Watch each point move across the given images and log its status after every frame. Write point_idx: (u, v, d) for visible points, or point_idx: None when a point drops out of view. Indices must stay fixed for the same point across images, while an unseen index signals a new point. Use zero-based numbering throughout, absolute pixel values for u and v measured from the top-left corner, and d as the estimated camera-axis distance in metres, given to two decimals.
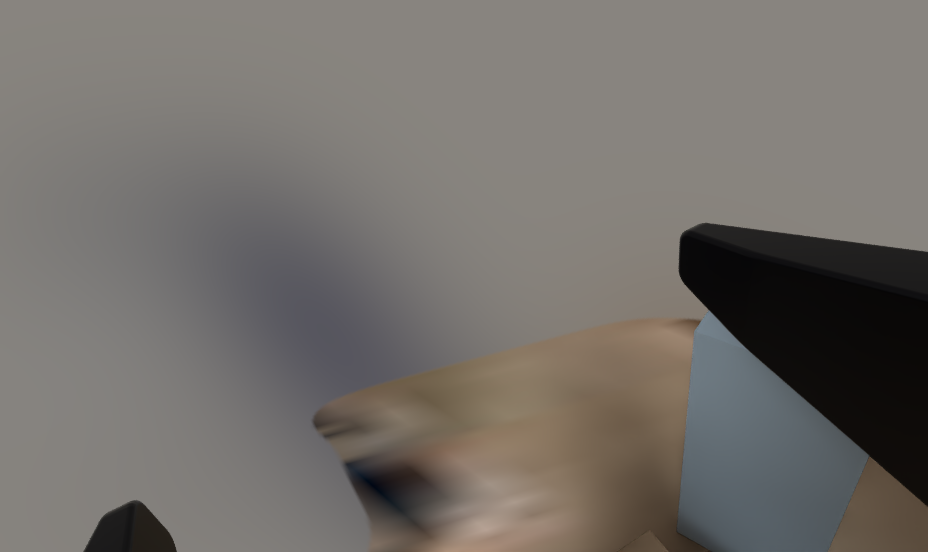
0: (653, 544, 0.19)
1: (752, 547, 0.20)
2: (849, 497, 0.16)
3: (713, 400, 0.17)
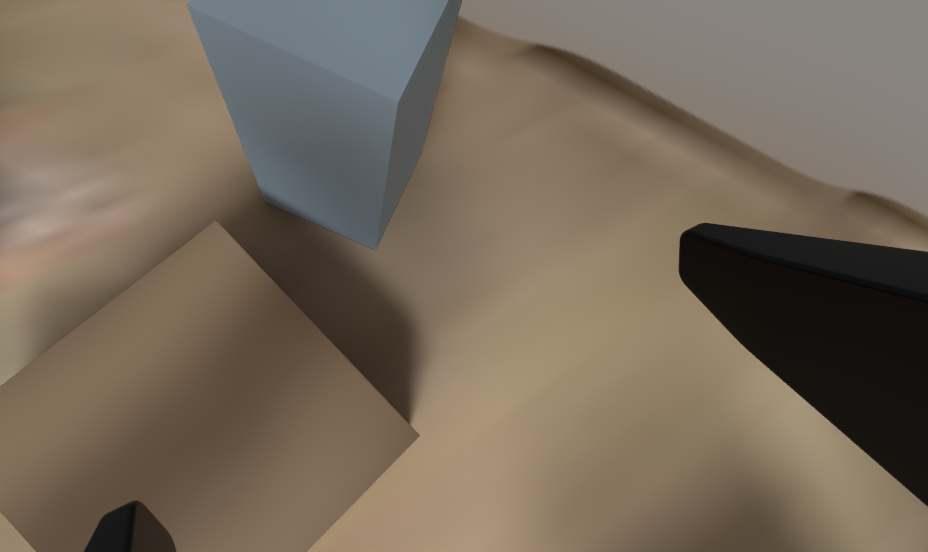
0: (219, 235, 0.18)
1: (327, 214, 0.21)
2: (385, 179, 0.16)
3: (243, 88, 0.14)
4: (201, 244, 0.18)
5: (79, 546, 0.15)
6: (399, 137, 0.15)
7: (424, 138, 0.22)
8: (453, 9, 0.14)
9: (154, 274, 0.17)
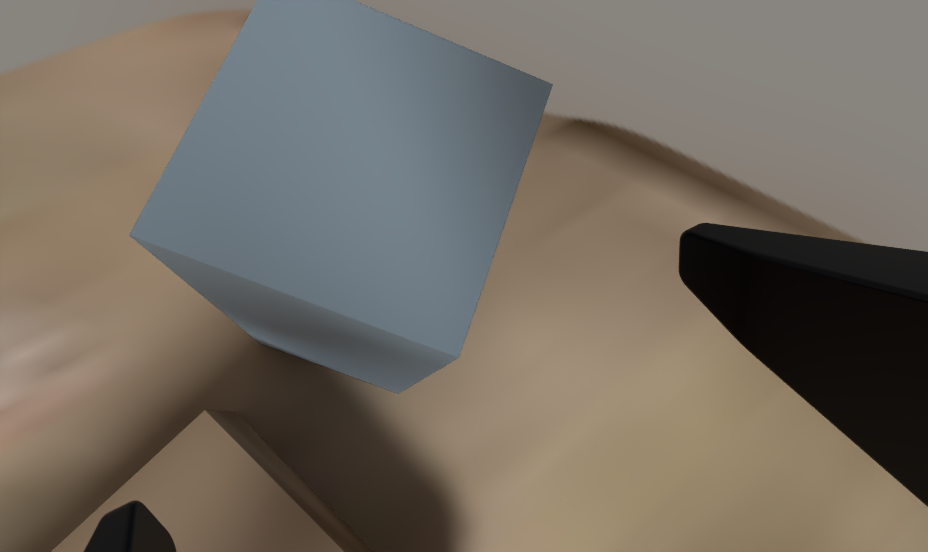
0: (209, 430, 0.14)
1: (338, 367, 0.16)
2: (422, 378, 0.12)
3: (224, 294, 0.10)
4: (186, 445, 0.14)
5: None
6: None
7: None
8: None
9: (125, 492, 0.13)
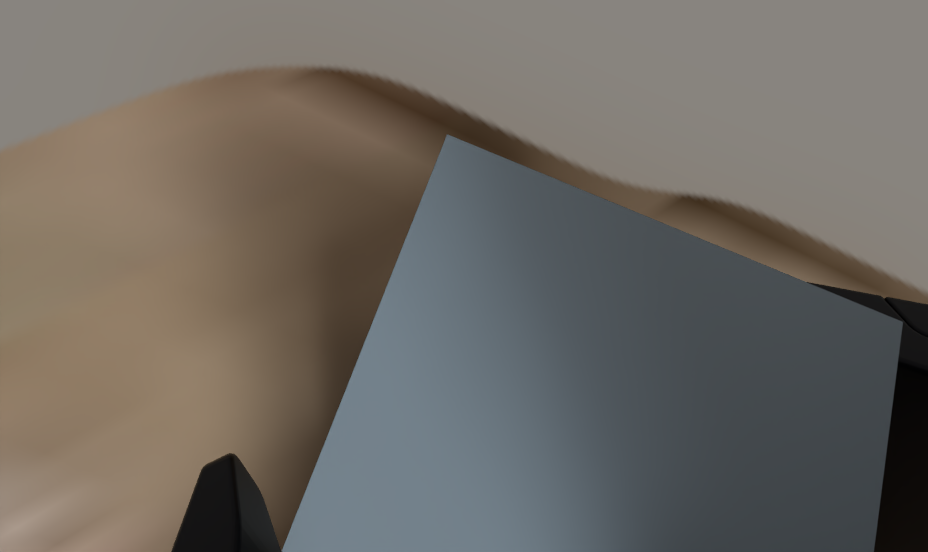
0: None
1: None
2: None
3: None
4: None
5: None
6: None
7: None
8: None
9: None
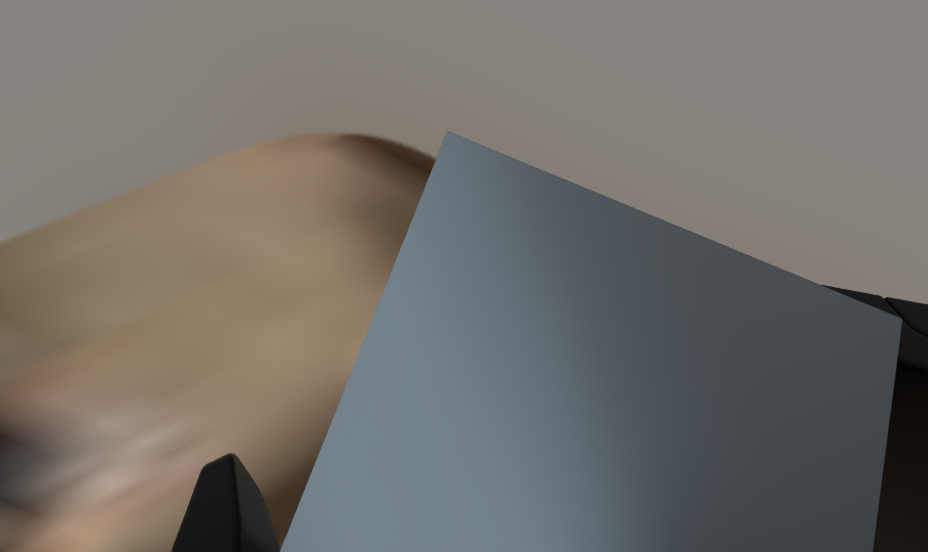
0: None
1: None
2: None
3: None
4: None
5: None
6: None
7: None
8: None
9: None
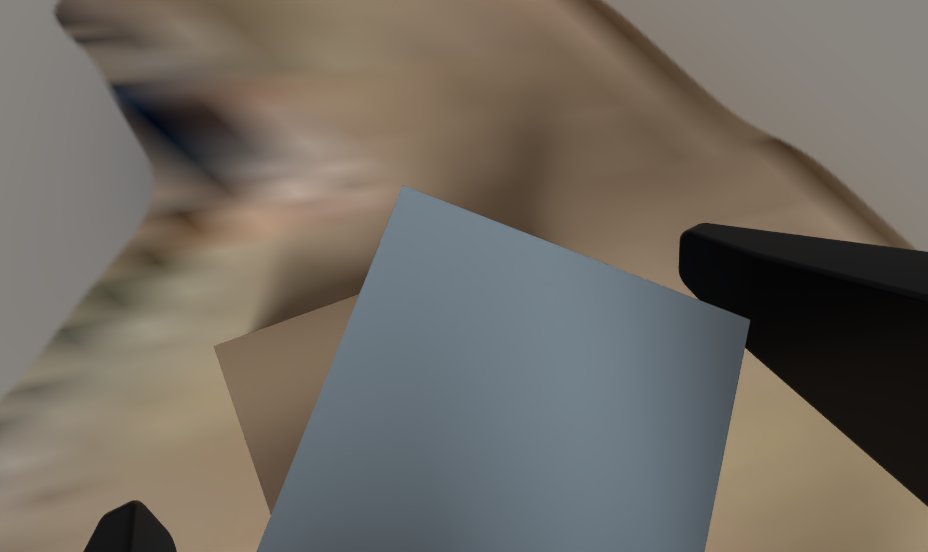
0: None
1: None
2: None
3: None
4: None
5: None
6: None
7: None
8: None
9: None
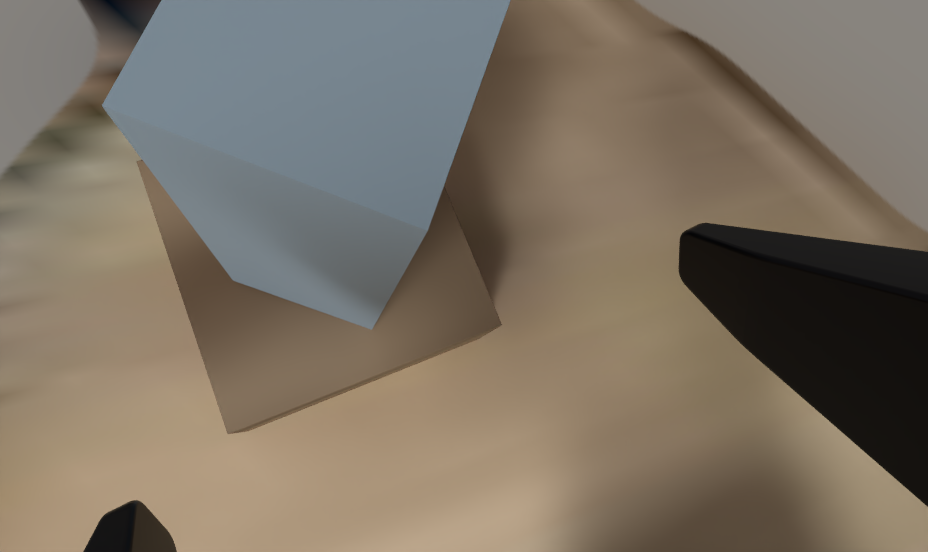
0: None
1: (312, 299, 0.17)
2: (394, 287, 0.12)
3: (197, 193, 0.10)
4: None
5: (208, 289, 0.18)
6: None
7: None
8: None
9: None
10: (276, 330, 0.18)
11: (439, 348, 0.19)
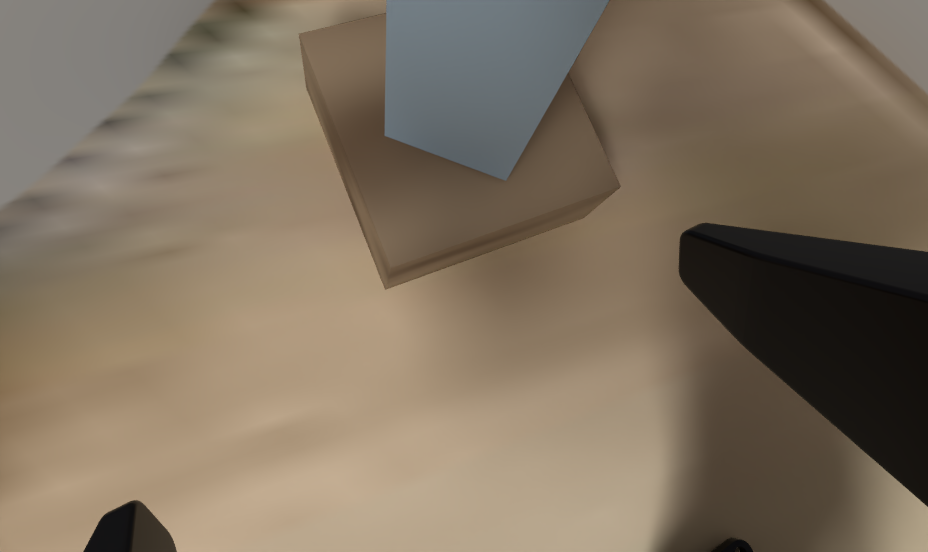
0: None
1: (461, 139, 0.19)
2: (565, 75, 0.14)
3: None
4: None
5: (366, 145, 0.20)
6: None
7: None
8: None
9: None
10: (427, 182, 0.20)
11: (567, 204, 0.21)
